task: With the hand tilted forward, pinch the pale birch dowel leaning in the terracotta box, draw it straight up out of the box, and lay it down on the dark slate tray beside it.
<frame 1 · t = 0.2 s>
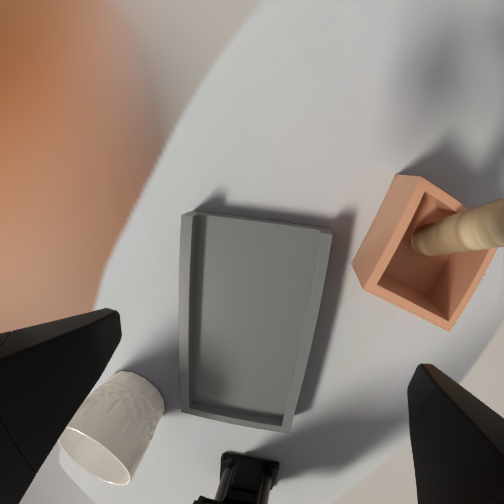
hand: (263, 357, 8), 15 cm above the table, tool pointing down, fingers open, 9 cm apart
birch dowel: (420, 237, 20), point 1 cm above the table, touching terracotta box
terracotta box: (414, 241, 21), on the table
slate tray: (247, 330, 25), on the table
white cup: (137, 394, 29), on the table
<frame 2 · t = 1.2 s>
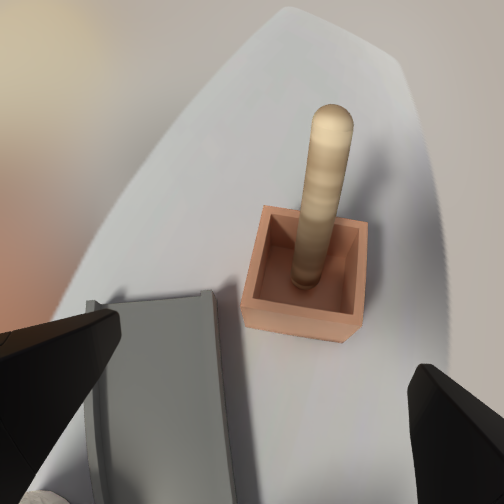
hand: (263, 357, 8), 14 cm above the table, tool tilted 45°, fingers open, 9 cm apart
birch dowel: (303, 280, 23), point 1 cm above the table, touching terracotta box
terracotta box: (302, 290, 23), on the table
slate tray: (158, 421, 19), on the table
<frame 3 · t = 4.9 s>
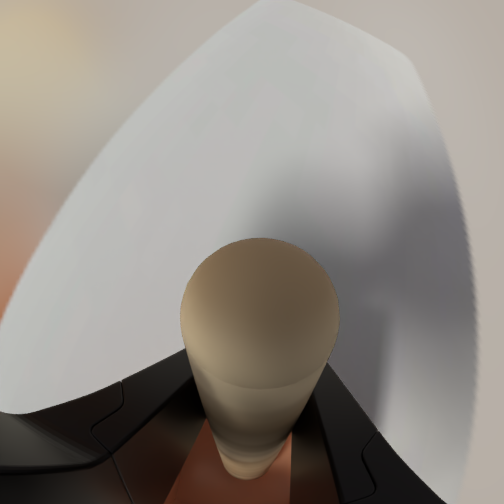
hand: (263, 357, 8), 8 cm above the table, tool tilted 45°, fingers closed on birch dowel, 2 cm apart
birch dowel: (248, 455, 13), point 1 cm above the table, touching gripper, terracotta box
terracotta box: (247, 462, 13), on the table
when the fingers open (10 cm above the table, at t = 8.5 s): birch dowel drops 1 cm and tips over, resting on slate tray.
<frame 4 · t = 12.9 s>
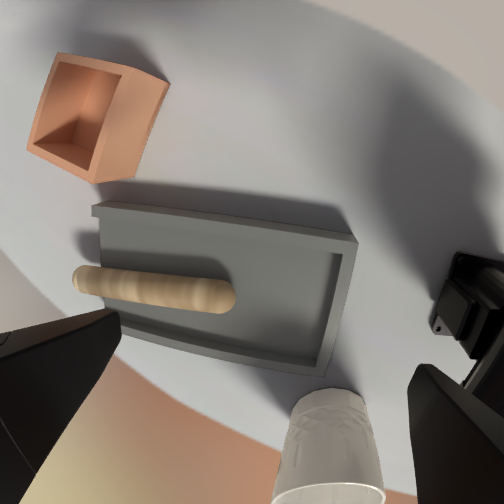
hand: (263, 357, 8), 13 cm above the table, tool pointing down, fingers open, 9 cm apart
birch dowel: (235, 298, 20), point 2 cm above the table, tilted 73°, touching slate tray
terracotta box: (113, 116, 20), on the table
slate tray: (213, 282, 22), on the table
white cup: (329, 412, 24), on the table
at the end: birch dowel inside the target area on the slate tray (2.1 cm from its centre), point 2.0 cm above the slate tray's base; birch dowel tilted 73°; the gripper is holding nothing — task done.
